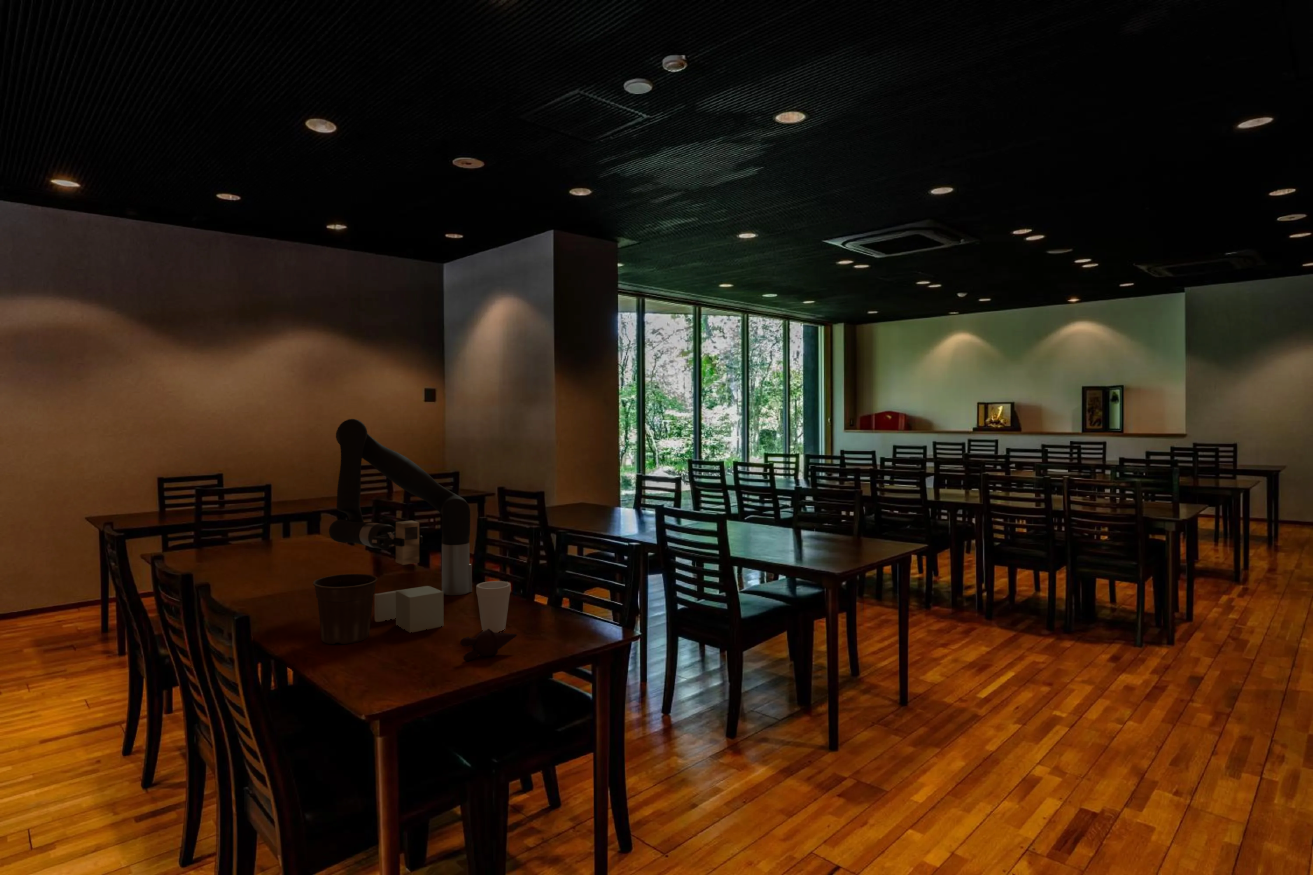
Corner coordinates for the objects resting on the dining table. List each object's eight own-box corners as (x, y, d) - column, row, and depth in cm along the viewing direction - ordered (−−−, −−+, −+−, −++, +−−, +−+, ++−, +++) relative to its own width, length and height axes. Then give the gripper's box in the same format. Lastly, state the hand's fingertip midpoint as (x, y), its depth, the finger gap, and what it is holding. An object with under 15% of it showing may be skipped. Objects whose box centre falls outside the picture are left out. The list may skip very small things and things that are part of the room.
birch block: (411, 560, 217) (411, 520, 217) (419, 562, 213) (419, 522, 213) (395, 562, 214) (395, 521, 213) (403, 564, 210) (403, 523, 210)
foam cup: (506, 635, 200) (505, 588, 199) (472, 635, 200) (472, 588, 200) (513, 625, 209) (513, 581, 209) (481, 625, 209) (481, 580, 209)
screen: (426, 611, 224) (426, 585, 224) (429, 612, 223) (428, 586, 222) (374, 620, 213) (374, 593, 213) (377, 622, 212) (377, 595, 212)
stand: (428, 618, 216) (428, 585, 215) (443, 626, 208) (443, 591, 208) (395, 625, 209) (395, 590, 209) (410, 632, 202) (409, 597, 201)
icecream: (507, 621, 191) (453, 636, 182) (519, 620, 185) (464, 636, 176) (512, 647, 190) (459, 664, 181) (525, 647, 184) (470, 665, 175)
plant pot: (390, 635, 199) (390, 577, 199) (338, 651, 185) (338, 589, 185) (352, 626, 207) (352, 571, 207) (300, 641, 194) (300, 581, 193)
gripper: (357, 526, 215) (391, 531, 206) (398, 520, 227) (432, 525, 218) (357, 551, 216) (391, 557, 206) (398, 544, 227) (432, 550, 218)
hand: (412, 541), depth 212 cm, fingers closed on birch block, 6 cm apart
